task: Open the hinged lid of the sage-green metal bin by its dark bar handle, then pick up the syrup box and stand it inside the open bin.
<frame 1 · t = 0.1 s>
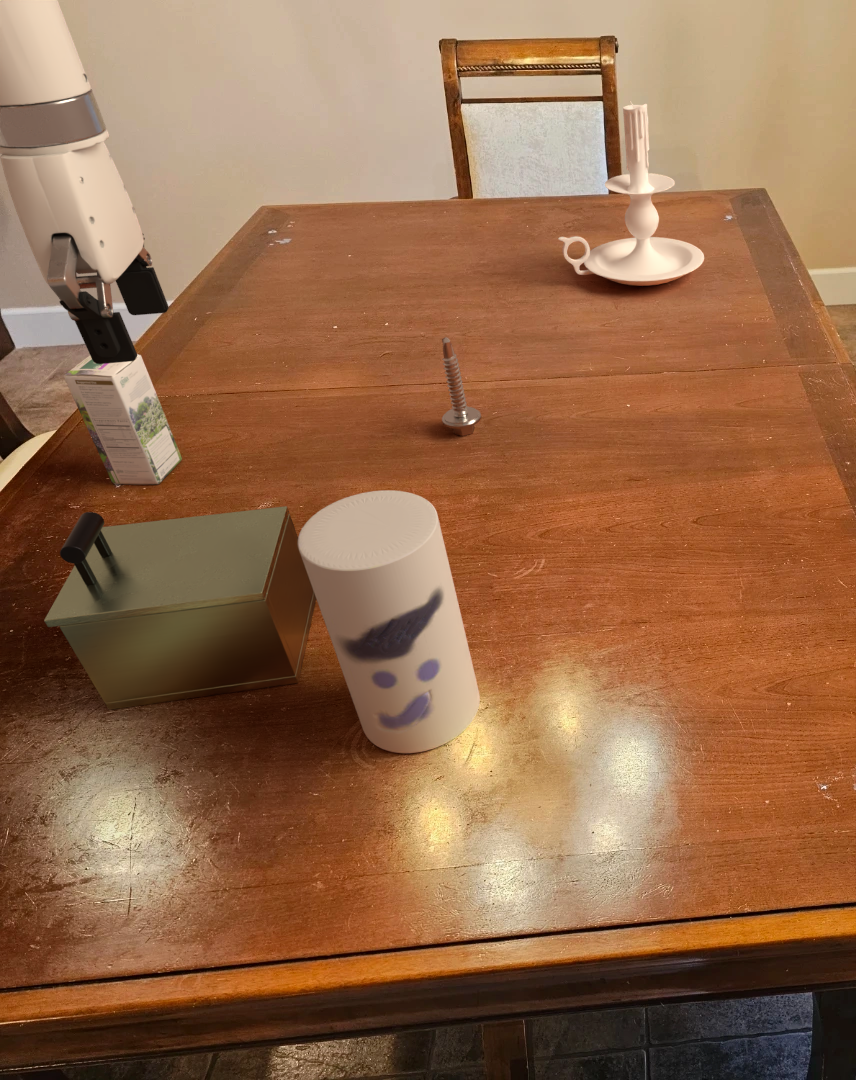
hand: (134, 335, 79), 27 cm above the table, tool pointing down, fingers open, 9 cm apart
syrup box: (150, 473, 111), on the table
bin: (220, 647, 87), on the table
container: (422, 711, 81), on the table
lid: (167, 543, 79), point 12 cm above the table, hinge at 0.0°
screw: (464, 432, 119), on the table
candlestick: (633, 278, 160), on the table
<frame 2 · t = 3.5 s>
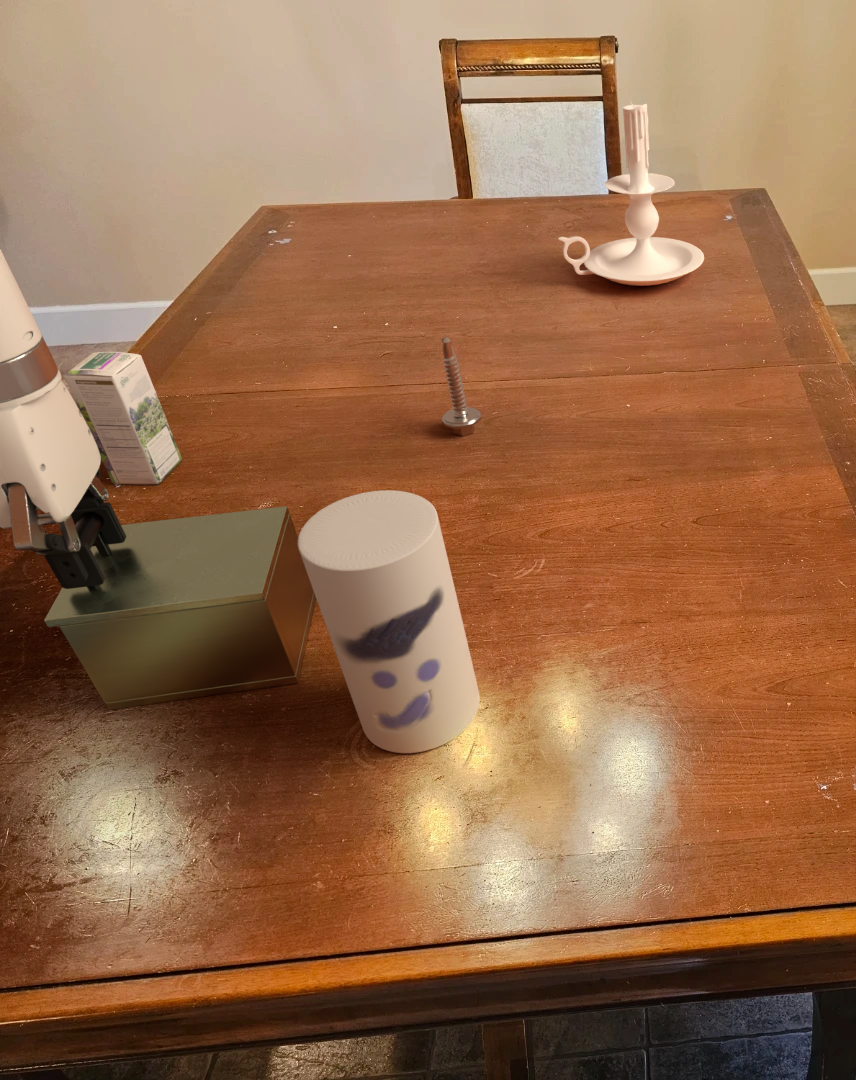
hand: (95, 561, 79), 11 cm above the table, tool pointing down, fingers closed on lid, 5 cm apart
lid: (167, 543, 79), point 12 cm above the table, hinge at 0.0°, touching gripper
everything else where it was.
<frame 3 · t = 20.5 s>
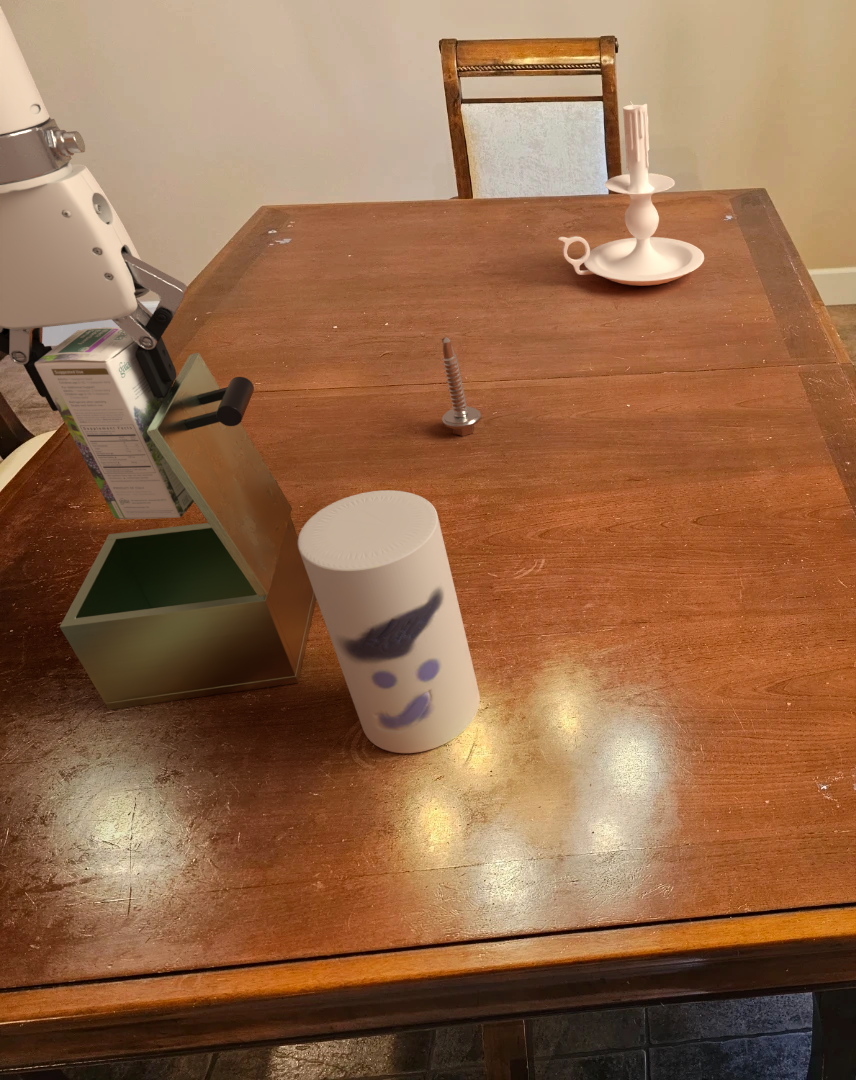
hand: (114, 394, 72), 26 cm above the table, tool pointing down, fingers closed on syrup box, 6 cm apart
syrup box: (168, 502, 78), point 16 cm above the table, touching gripper
lid: (253, 468, 77), point 19 cm above the table, hinge at 79.7°, touching gripper
everything else where it was.
when the fingers open (11 cm above the table, at t = 24.2 s): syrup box stays where it is, resting on bin.
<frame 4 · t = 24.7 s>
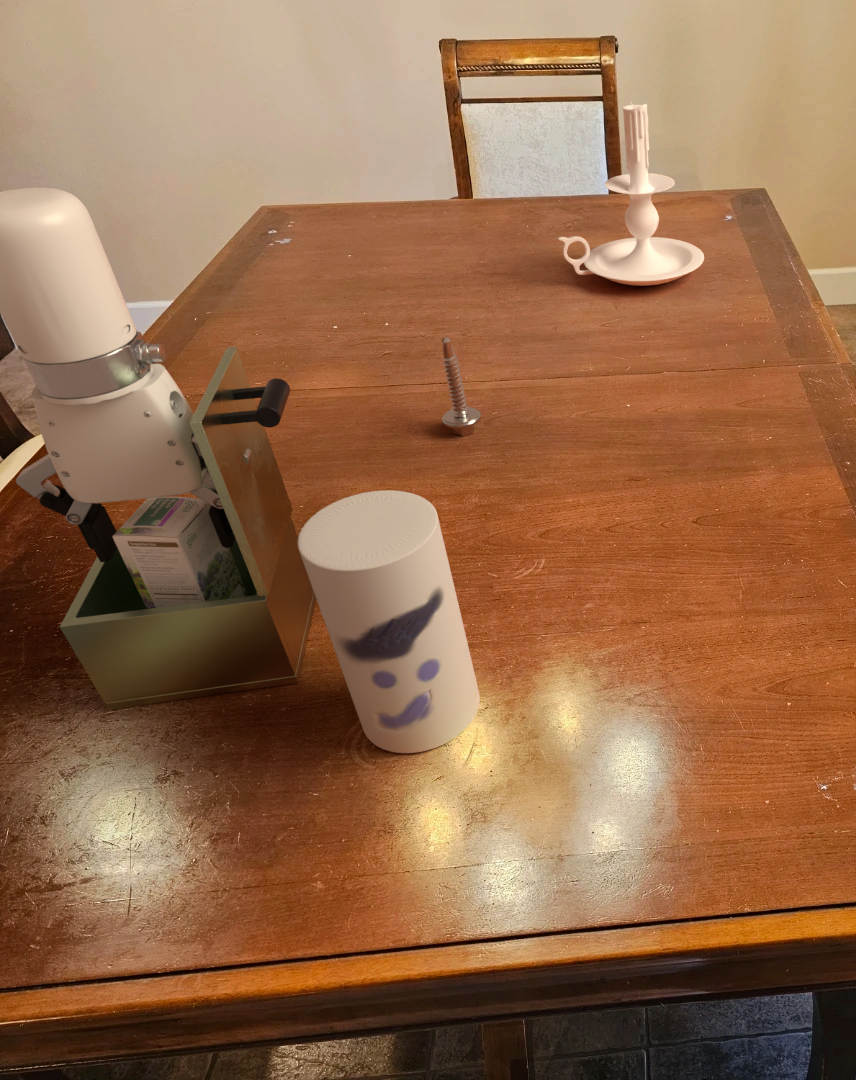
hand: (172, 545, 80), 12 cm above the table, tool pointing down, fingers open, 9 cm apart
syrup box: (217, 641, 87), point 1 cm above the table, touching bin
lid: (274, 468, 77), point 19 cm above the table, hinge at 90.2°
everything else where it was.
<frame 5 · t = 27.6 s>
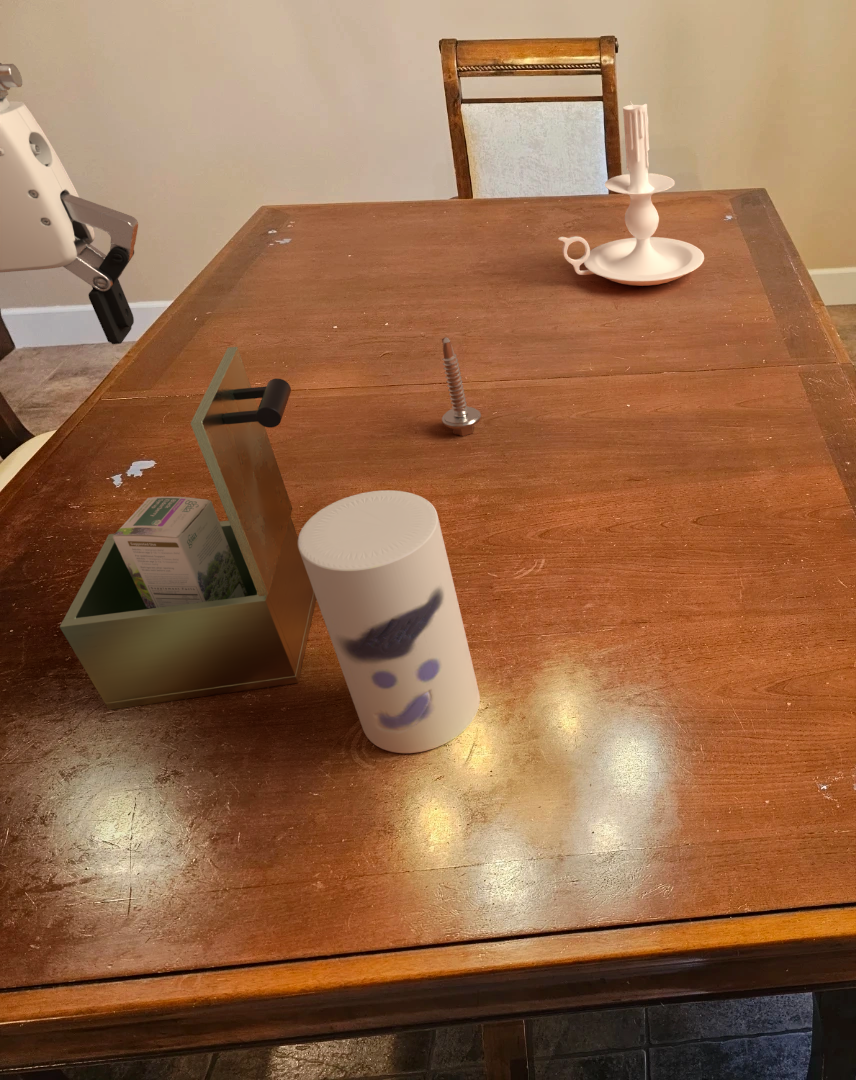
hand: (50, 342, 68), 31 cm above the table, tool pointing down, fingers open, 9 cm apart
nothing on the table moved.
at the end: lid at +90° (first picture: +0°); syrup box inside the target area in the bin (0.0 cm from its centre), point 0.7 cm above the bin's base; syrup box tilted 0° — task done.
